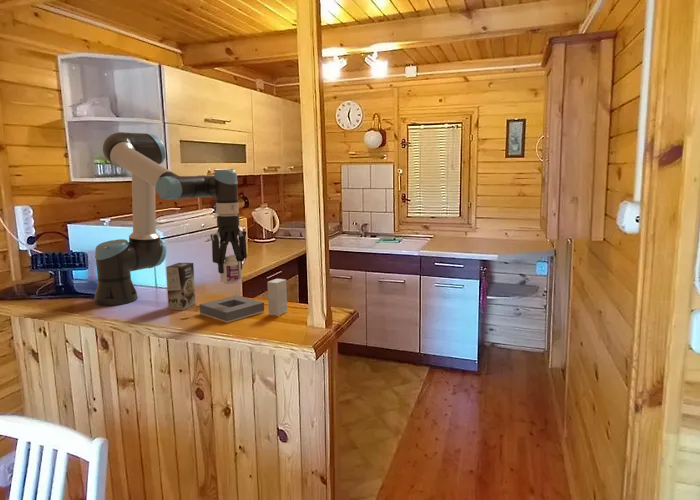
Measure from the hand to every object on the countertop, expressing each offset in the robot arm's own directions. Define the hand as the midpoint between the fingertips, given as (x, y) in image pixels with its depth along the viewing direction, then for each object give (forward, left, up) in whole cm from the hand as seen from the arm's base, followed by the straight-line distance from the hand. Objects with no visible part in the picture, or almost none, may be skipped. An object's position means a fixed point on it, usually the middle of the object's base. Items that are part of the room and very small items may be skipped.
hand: (231, 280), depth 174 cm
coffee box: (-21, -7, -12) cm, 25 cm away
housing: (0, 0, -12) cm, 12 cm away
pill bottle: (0, 0, -1) cm, 1 cm away
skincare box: (+13, +10, -12) cm, 20 cm away
